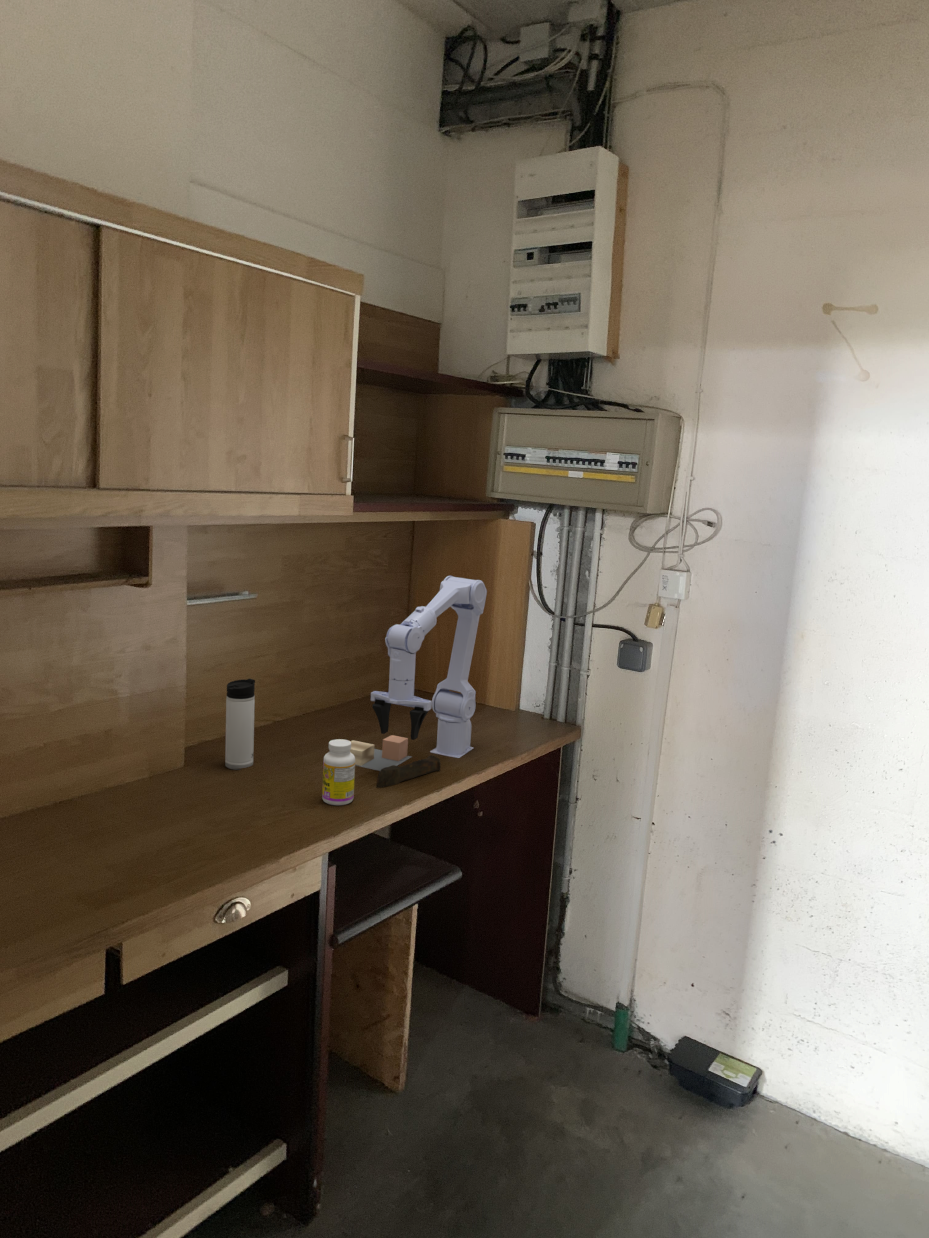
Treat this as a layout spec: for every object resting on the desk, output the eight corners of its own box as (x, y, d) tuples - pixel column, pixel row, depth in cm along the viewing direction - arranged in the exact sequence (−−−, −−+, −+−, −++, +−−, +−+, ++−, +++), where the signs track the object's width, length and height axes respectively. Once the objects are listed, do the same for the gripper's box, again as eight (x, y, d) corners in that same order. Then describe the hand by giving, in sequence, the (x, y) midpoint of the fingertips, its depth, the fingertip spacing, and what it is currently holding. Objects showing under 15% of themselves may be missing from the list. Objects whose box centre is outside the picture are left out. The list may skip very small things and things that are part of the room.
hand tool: (428, 769, 217) (429, 750, 216) (440, 773, 214) (441, 754, 213) (368, 787, 203) (369, 767, 202) (380, 792, 200) (381, 772, 199)
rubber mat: (362, 748, 228) (362, 746, 228) (412, 758, 222) (412, 756, 222) (334, 762, 216) (334, 760, 216) (386, 774, 211) (386, 772, 211)
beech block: (352, 753, 221) (352, 740, 221) (373, 758, 219) (374, 744, 219) (339, 760, 216) (339, 746, 215) (361, 765, 214) (361, 751, 213)
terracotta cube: (390, 752, 224) (391, 734, 223) (407, 755, 223) (408, 738, 222) (381, 757, 220) (382, 739, 219) (398, 761, 218) (399, 743, 218)
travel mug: (260, 765, 211) (261, 681, 207) (236, 772, 206) (237, 686, 202) (243, 758, 215) (244, 676, 211) (219, 764, 210) (220, 680, 206)
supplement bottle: (320, 795, 196) (322, 737, 193) (351, 793, 197) (353, 737, 195) (323, 807, 189) (326, 747, 187) (355, 805, 191) (358, 747, 189)
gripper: (365, 676, 205) (362, 734, 207) (423, 686, 199) (420, 746, 202) (380, 670, 211) (377, 726, 214) (436, 679, 206) (433, 737, 208)
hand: (399, 735), depth 208 cm, fingers open, 7 cm apart
